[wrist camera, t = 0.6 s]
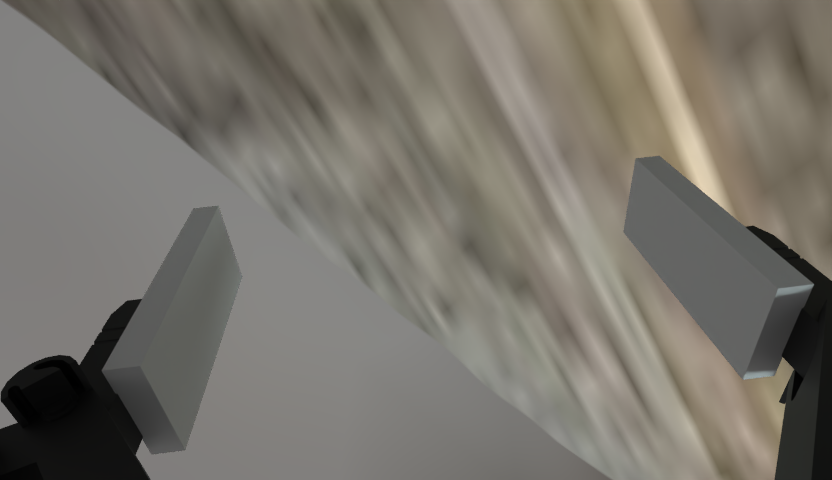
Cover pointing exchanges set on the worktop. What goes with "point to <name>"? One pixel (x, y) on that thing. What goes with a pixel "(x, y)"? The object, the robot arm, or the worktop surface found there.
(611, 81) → the worktop surface
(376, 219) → the worktop surface
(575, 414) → the worktop surface
